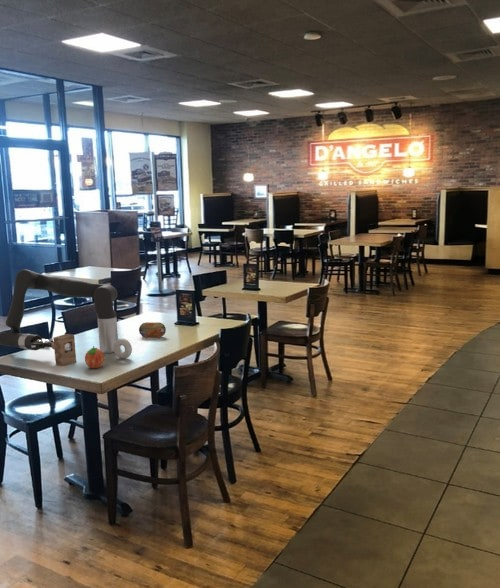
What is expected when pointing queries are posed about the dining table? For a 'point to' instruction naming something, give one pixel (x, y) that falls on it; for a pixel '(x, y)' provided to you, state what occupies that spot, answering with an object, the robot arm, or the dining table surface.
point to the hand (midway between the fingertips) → (54, 345)
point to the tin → (152, 329)
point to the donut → (126, 345)
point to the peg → (66, 345)
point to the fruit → (94, 358)
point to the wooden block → (60, 353)
